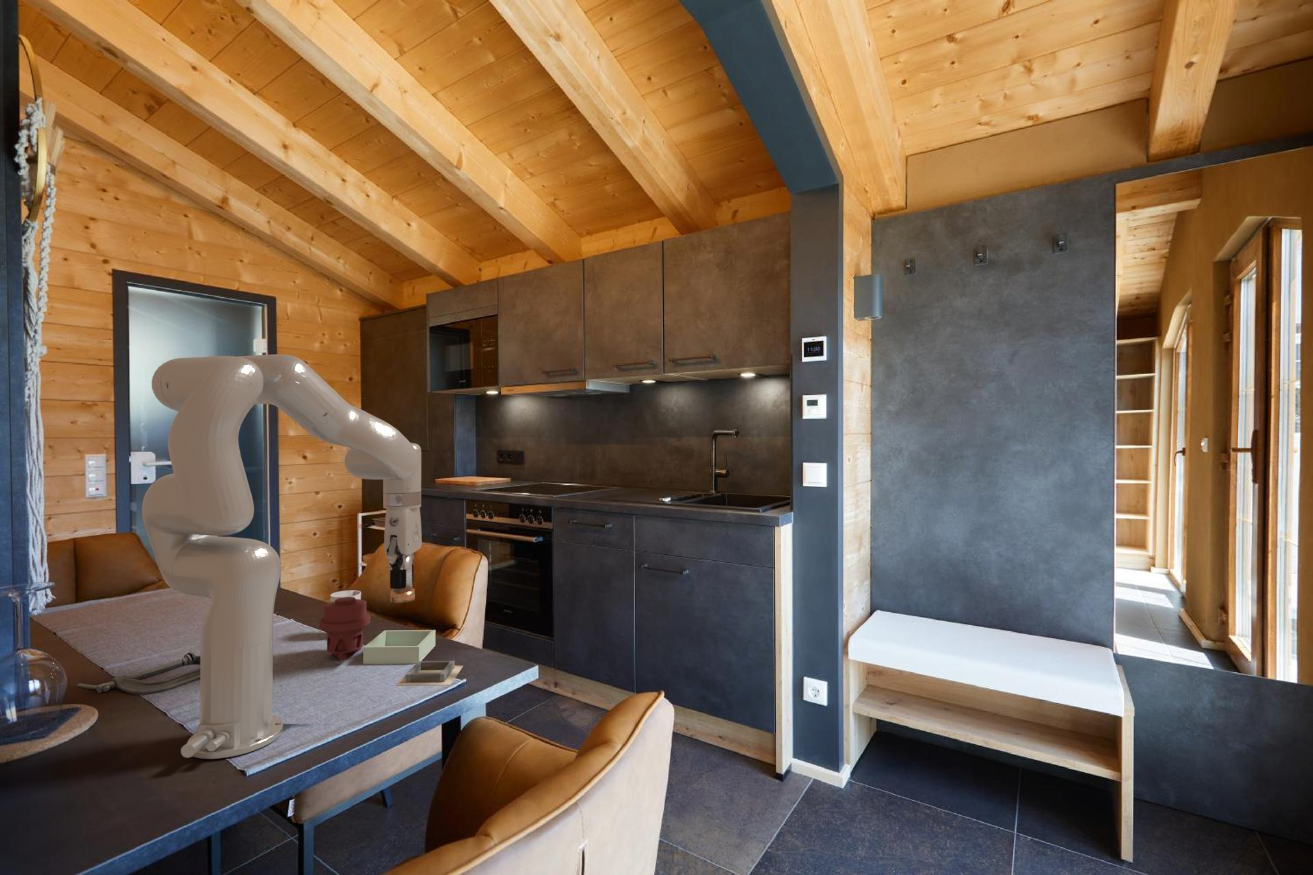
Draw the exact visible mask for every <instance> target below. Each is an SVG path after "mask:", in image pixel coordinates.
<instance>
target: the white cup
mask: <svg viewBox="0 0 1313 875" xmlns="http://www.w3.org/2000/svg"><path fill="white" fill-rule="evenodd" d="M342 597H354V598H355V599H361V600H362V598H361V597H362V592H361V590H354V589H353V590H352V589H349V590H341V591H336V592H333V593H331V594H330V602H333V601H335V600H336V599H338V598H342Z"/></svg>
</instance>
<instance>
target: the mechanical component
mask: <svg viewBox="0 0 1313 875" xmlns="http://www.w3.org/2000/svg"><path fill="white" fill-rule="evenodd" d="M367 603H368V602H367V601H366V600H364V599H362V598H361V599H355V598H354V597H342V598H338V599H336V600H335V601H333V602H331V601H330V602H328V603H326V604H324V605H323V618H321V619H320V620H319V626H318V627H319V630H321V631H323V632H326V637H327V638H326V651H327V652H328V653H330V654H331V656H335V657H337V659H338V661H340V660H342V661H345V660H347V659H348V658H350V656H351V657H353V656H354V655H355V654H356V653H358V652H359V651H360V650H362V648H363V647H364V646H363V645H364V628H366V627H367V626H369V625H370V624H371V615H370V614H369V613H368V612H367V605H368V604H367Z"/></svg>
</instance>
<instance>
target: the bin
mask: <svg viewBox="0 0 1313 875" xmlns="http://www.w3.org/2000/svg"><path fill="white" fill-rule="evenodd" d="M436 632H437V631H436V629H433V630H432V629H425V630H424V629H419V630H418V629H416V630H415V629H414V630H413V629H412V630H411V629H409V630H404V629H403V630H402V629H401V630H400V629H397V630H395V629H394V630H392V629H391V630H383V631H382V632H381V633H380V634H378V635H377V636H376V637H374V638H373V639H372V640H371V641H369V642H368V643H367V644H366V645H365V646H363V647H362V648H363V651H362V652H363V653H362V654H363V657H362V658H363V659H362V660H363V662H362V663H363V665H410V664H411V665H415V664H416V663H417V662H418V661H424V660H423V659H425V657H426V656H427V655H428V654H429V653H430V652H431V651H432V650H433V649H435V648H434V647H436Z"/></svg>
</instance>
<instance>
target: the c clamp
mask: <svg viewBox="0 0 1313 875" xmlns="http://www.w3.org/2000/svg"><path fill="white" fill-rule="evenodd" d="M194 664H200V655H195V653H193V652H192V651H189V652H187V653H186V654H184V656H183V658H181V659H177V660H175V661H172V662H169V663H165V664H162V665H158V666H156V667H153V668H149V669H146V670H144V671H143V670H142V671H140V672H136V673H133V674H130V675H126V674H122V675H120V676H117V677H114V678H111V680H110V681H108V682H105V683H101V684H98V685H92V684H85V683H77V684H76V688H81V689H88V690H89V689H90V690H96V692H97V693H99V694H101V693H104V692H108V691H110V690H113V689H119V690H121V691H122V692H125V693H127V694H131V695H137V696H139V695H140V696H141V695H144V696H145V695H151V694H152V695H153V694H158V693H159V694H160V693H163V692H167V691H170V690H174V689H175V688H178V687H181V686H184V685H187V684H190V683H193V682H196V681H200V667H199V668H196V669H192V670H190V671H187V672H184V673H181V674H179V675H175V676H173V677H170V678H167V679H163V680H159V681H158V680H157V681H143V680H142V679H146V678H149V677H152V676H155V675H158V674H162V673H164V672H168V671H171V670H174V669H177V668H180V667H181V666H189V665H190V666H191V665H194Z"/></svg>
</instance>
